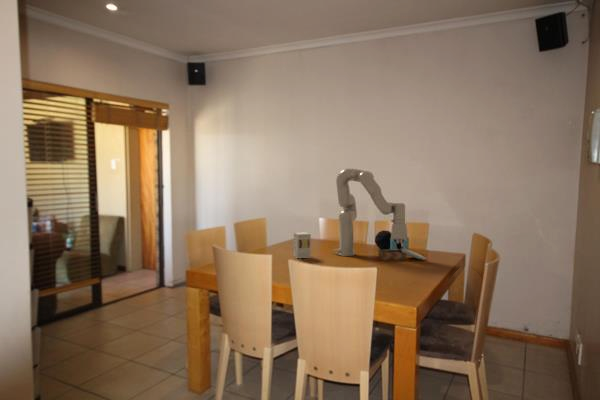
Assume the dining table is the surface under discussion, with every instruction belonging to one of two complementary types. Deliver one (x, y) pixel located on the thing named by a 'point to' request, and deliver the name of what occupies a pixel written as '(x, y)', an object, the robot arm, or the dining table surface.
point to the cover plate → (411, 253)
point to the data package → (393, 243)
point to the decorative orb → (383, 240)
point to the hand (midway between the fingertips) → (398, 249)
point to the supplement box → (302, 245)
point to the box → (391, 255)
